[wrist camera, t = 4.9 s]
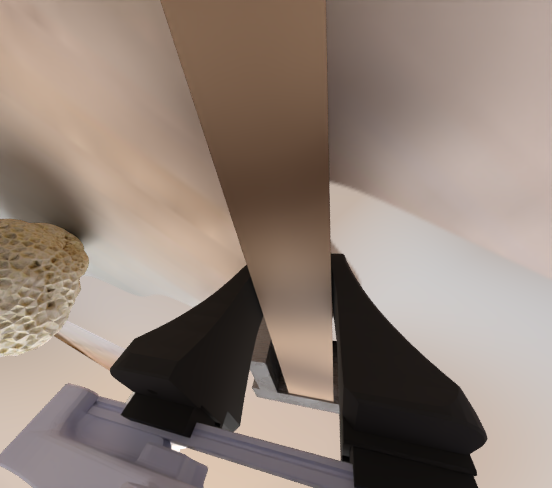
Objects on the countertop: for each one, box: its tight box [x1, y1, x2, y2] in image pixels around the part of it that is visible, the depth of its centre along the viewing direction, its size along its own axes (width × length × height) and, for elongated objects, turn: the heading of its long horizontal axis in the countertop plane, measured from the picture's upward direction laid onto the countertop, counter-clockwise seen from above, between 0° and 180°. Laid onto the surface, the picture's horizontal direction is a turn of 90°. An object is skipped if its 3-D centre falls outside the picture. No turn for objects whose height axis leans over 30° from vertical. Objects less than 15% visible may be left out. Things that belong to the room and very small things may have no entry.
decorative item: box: [0, 219, 89, 357], centre depth 14 cm, size 12×9×10 cm
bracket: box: [250, 315, 339, 414], centre depth 17 cm, size 10×7×5 cm
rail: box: [160, 0, 333, 402], centre depth 11 cm, size 22×4×5 cm, turn 10°
